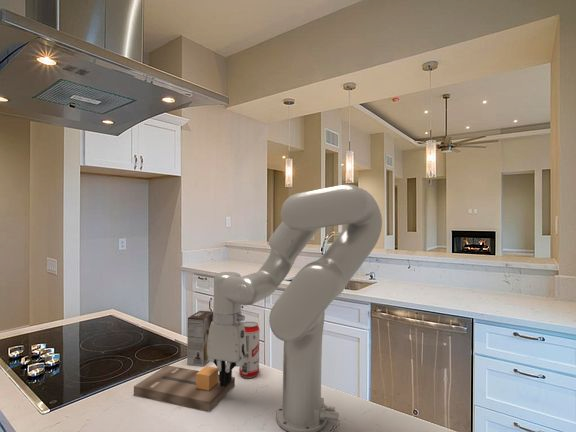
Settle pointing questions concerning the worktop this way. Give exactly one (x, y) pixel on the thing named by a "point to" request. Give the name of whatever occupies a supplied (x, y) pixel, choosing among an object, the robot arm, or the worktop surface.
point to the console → (181, 389)
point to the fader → (207, 378)
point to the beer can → (251, 351)
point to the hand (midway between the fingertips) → (225, 384)
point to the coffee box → (198, 337)
